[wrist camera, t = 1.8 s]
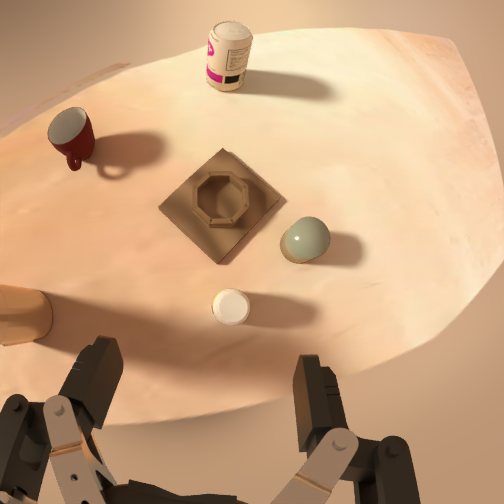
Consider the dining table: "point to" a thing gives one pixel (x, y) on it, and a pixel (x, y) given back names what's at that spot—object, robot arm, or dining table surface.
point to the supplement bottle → (231, 307)
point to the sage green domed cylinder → (305, 240)
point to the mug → (72, 136)
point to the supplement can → (228, 55)
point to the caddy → (219, 204)
